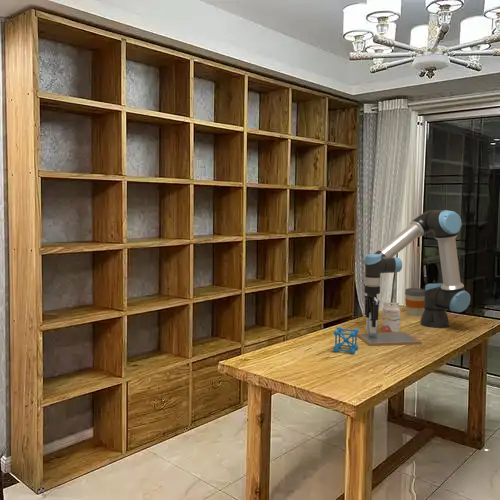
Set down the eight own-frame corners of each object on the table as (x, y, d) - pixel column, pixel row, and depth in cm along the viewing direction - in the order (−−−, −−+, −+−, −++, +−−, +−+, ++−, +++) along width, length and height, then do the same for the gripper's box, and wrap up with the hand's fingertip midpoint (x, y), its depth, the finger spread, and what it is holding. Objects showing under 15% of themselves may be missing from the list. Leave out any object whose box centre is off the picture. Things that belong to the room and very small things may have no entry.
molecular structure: (332, 352, 240) (333, 330, 239) (337, 346, 249) (337, 325, 248) (354, 354, 236) (355, 333, 235) (358, 349, 246) (359, 328, 245)
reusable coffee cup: (405, 316, 315) (406, 291, 314) (403, 311, 328) (403, 287, 326) (427, 317, 313) (428, 292, 312) (424, 312, 326) (425, 288, 324)
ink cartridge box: (383, 331, 279) (384, 304, 277) (381, 329, 284) (382, 302, 282) (399, 332, 278) (400, 304, 276) (398, 329, 283) (399, 302, 281)
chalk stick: (374, 335, 266) (375, 311, 264) (378, 337, 262) (378, 313, 260) (367, 335, 265) (368, 312, 264) (370, 337, 261) (371, 313, 260)
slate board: (405, 334, 272) (405, 332, 272) (421, 344, 255) (421, 341, 255) (356, 336, 269) (356, 333, 268) (370, 345, 251) (370, 343, 251)
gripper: (358, 282, 269) (357, 327, 271) (371, 288, 252) (370, 336, 254) (372, 282, 270) (371, 327, 272) (386, 288, 253) (385, 336, 255)
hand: (370, 331), depth 263 cm, fingers open, 4 cm apart
